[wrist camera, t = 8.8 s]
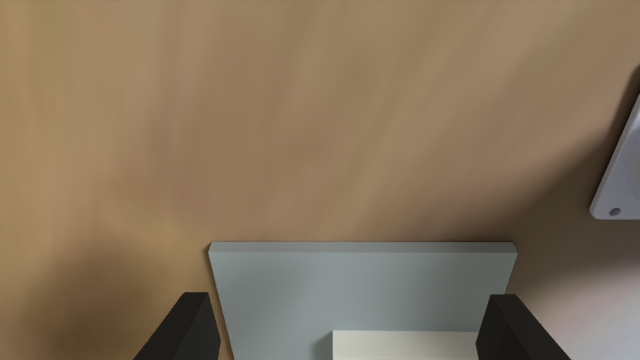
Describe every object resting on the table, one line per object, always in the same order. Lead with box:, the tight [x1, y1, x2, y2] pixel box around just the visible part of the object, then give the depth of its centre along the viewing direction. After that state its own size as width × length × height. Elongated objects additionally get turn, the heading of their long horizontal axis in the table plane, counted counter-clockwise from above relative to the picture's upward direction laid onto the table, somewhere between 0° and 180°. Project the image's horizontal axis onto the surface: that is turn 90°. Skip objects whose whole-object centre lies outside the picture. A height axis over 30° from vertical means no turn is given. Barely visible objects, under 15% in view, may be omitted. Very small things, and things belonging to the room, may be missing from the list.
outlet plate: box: [208, 242, 518, 360], centre depth 25 cm, size 16×16×3 cm
